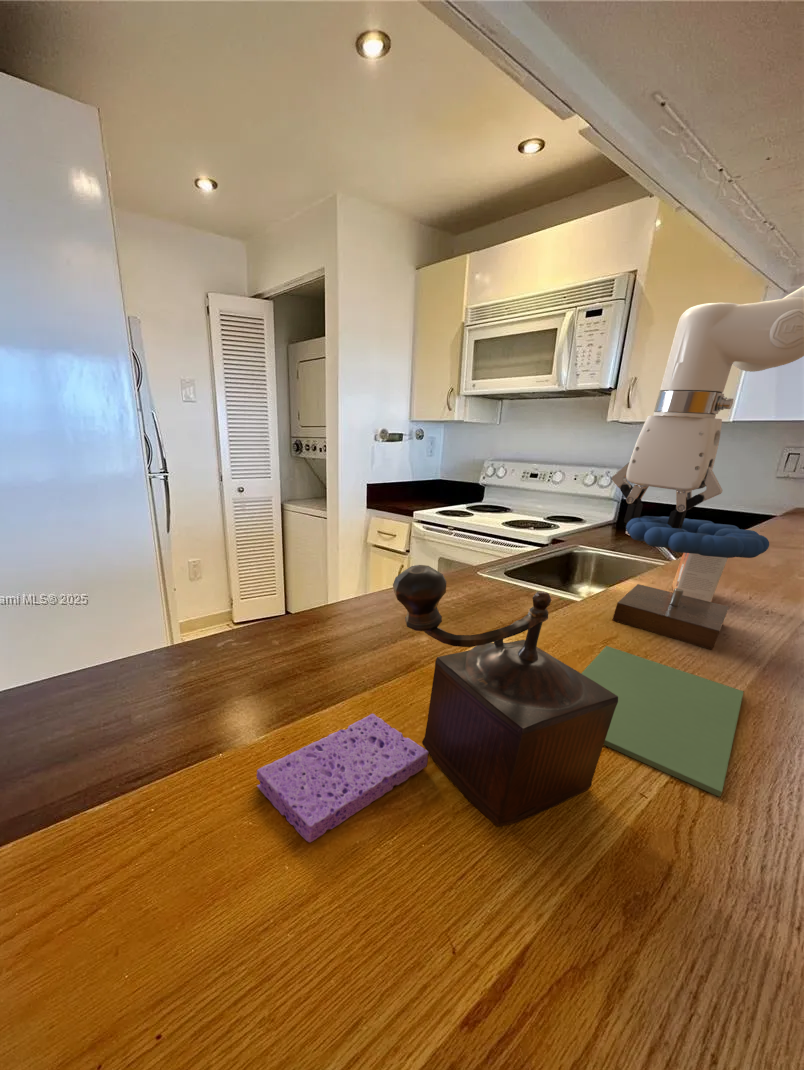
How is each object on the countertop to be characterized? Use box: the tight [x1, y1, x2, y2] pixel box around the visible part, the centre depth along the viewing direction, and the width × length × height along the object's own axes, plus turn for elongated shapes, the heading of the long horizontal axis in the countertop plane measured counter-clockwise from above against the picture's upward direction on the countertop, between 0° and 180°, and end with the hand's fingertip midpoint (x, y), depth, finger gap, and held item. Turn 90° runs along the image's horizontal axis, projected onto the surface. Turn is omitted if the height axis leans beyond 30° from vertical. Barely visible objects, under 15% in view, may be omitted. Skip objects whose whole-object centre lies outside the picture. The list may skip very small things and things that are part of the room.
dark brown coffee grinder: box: [392, 564, 618, 828], centre depth 37 cm, size 16×11×18 cm
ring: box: [625, 515, 770, 559], centre depth 69 cm, size 18×15×3 cm
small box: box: [671, 553, 729, 602], centre depth 85 cm, size 8×6×10 cm
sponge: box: [256, 713, 429, 843], centre depth 39 cm, size 7×13×2 cm, turn 131°
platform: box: [611, 583, 730, 651], centre depth 73 cm, size 13×13×6 cm
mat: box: [580, 645, 745, 798], centre depth 52 cm, size 22×15×1 cm
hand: (649, 531), depth 74 cm, fingers closed on ring, 4 cm apart
